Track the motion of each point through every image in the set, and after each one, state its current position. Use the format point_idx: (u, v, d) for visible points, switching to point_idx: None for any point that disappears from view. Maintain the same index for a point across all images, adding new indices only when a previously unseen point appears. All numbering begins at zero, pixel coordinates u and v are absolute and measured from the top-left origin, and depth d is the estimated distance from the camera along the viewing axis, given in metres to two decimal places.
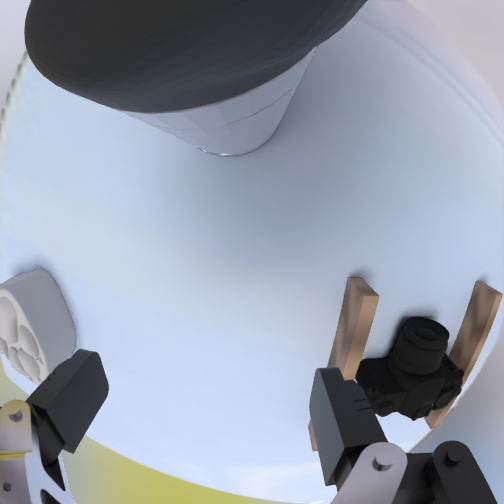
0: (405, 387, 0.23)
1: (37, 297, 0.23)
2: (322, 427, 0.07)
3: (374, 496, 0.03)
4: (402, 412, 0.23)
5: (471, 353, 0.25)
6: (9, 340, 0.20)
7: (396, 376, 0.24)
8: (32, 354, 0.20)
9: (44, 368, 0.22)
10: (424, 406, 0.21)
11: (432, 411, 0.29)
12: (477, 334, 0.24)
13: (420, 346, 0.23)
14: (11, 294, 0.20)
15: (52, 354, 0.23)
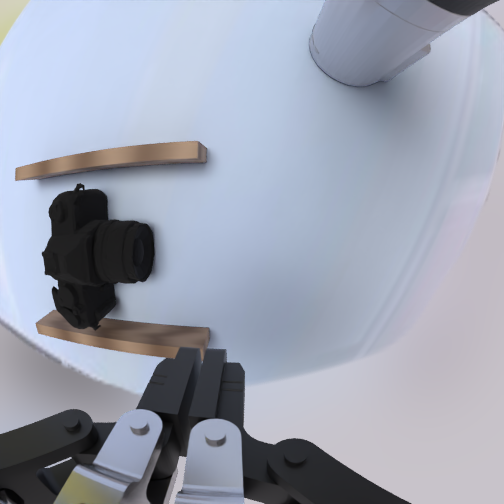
0: (79, 231, 0.21)
1: None
2: None
3: (221, 470, 0.04)
4: (51, 240, 0.21)
5: (127, 338, 0.26)
6: None
7: (91, 223, 0.23)
8: None
9: None
10: (58, 260, 0.20)
11: (55, 320, 0.28)
12: (150, 339, 0.27)
13: (126, 235, 0.23)
14: None
15: None
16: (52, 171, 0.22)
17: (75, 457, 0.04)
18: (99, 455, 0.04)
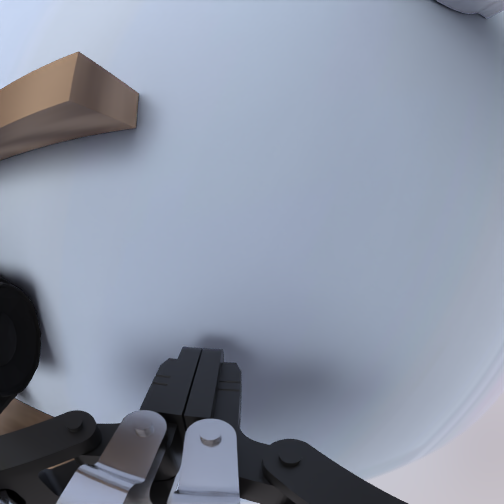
0: None
1: None
2: None
3: (216, 470, 0.04)
4: None
5: None
6: None
7: None
8: None
9: None
10: None
11: None
12: None
13: None
14: None
15: None
16: None
17: (78, 459, 0.04)
18: (102, 455, 0.04)
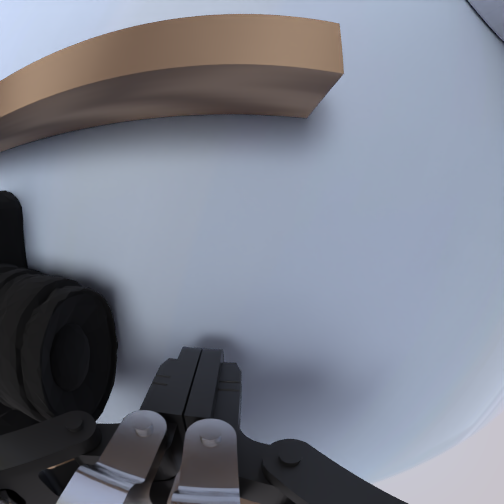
0: None
1: None
2: None
3: (216, 470, 0.04)
4: None
5: None
6: None
7: None
8: None
9: None
10: None
11: None
12: None
13: (24, 337, 0.06)
14: None
15: None
16: None
17: (78, 459, 0.04)
18: (102, 455, 0.04)
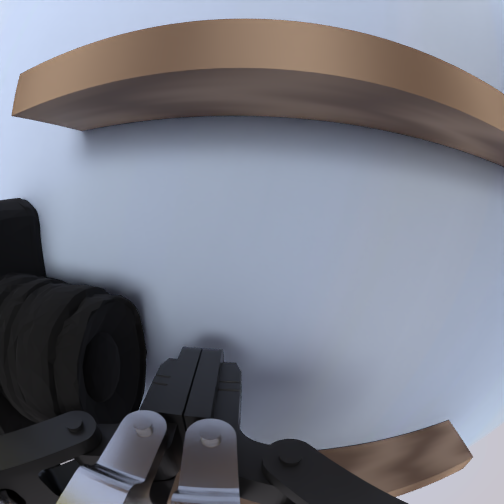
0: None
1: None
2: None
3: (216, 470, 0.04)
4: None
5: None
6: None
7: None
8: None
9: None
10: None
11: None
12: (404, 476, 0.10)
13: (56, 350, 0.06)
14: None
15: None
16: (230, 61, 0.05)
17: (78, 459, 0.04)
18: (102, 456, 0.04)
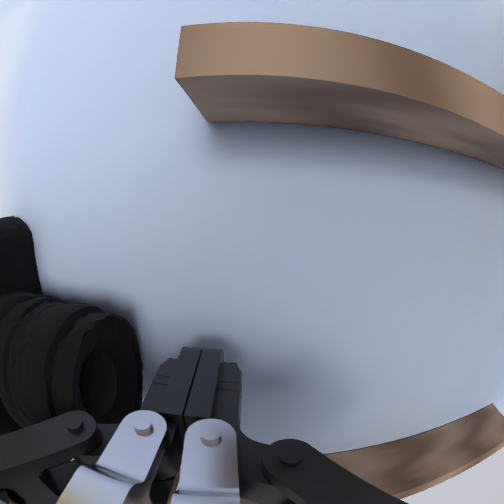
0: None
1: None
2: None
3: (216, 470, 0.04)
4: None
5: (445, 468, 0.09)
6: None
7: None
8: None
9: None
10: None
11: None
12: (469, 452, 0.10)
13: (53, 370, 0.06)
14: None
15: None
16: (457, 109, 0.05)
17: (78, 459, 0.04)
18: (102, 456, 0.04)
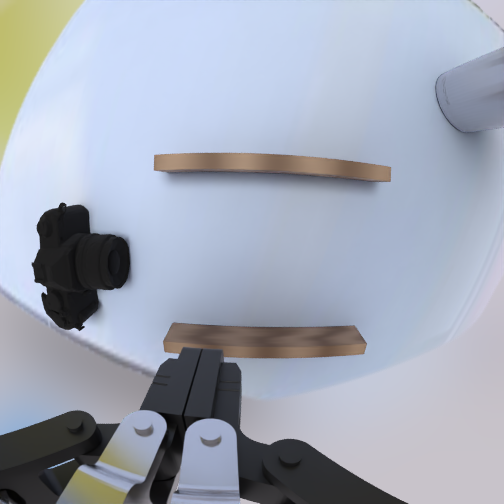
0: (63, 244, 0.24)
1: None
2: None
3: (216, 470, 0.04)
4: (39, 252, 0.23)
5: (294, 344, 0.29)
6: None
7: (73, 237, 0.25)
8: None
9: None
10: (45, 269, 0.22)
11: (187, 334, 0.30)
12: (317, 342, 0.29)
13: (102, 248, 0.25)
14: None
15: None
16: (226, 167, 0.24)
17: (78, 459, 0.04)
18: (102, 456, 0.04)
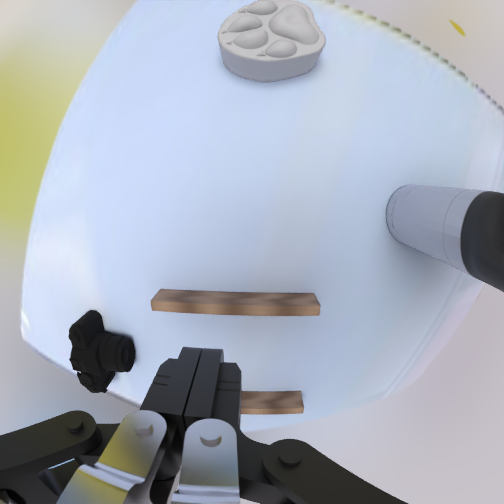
0: (89, 347, 0.36)
1: (309, 62, 0.28)
2: None
3: (216, 470, 0.04)
4: (72, 350, 0.35)
5: (253, 406, 0.41)
6: (278, 26, 0.24)
7: (95, 340, 0.38)
8: (273, 51, 0.25)
9: (251, 55, 0.26)
10: (80, 364, 0.34)
11: None
12: (269, 405, 0.41)
13: (116, 351, 0.37)
14: (323, 46, 0.25)
15: (261, 65, 0.27)
16: (200, 312, 0.36)
17: (78, 459, 0.04)
18: (102, 456, 0.04)
